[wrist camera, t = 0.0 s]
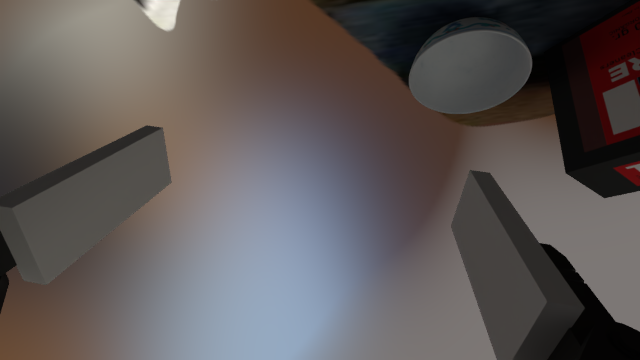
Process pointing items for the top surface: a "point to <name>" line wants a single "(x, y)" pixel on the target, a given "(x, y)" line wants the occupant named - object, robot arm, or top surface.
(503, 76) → the chinaware
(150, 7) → the top surface
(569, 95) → the cleaning product box
